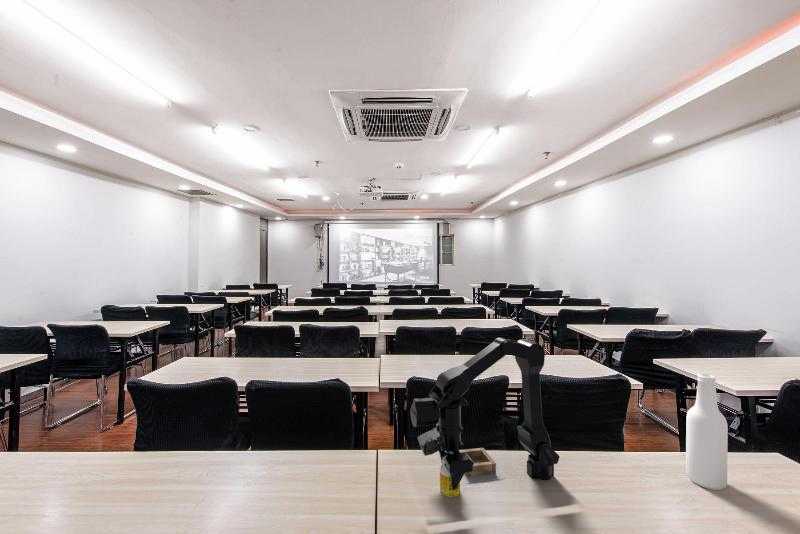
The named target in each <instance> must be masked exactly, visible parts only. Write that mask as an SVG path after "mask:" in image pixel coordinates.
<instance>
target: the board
mask: <svg viewBox="0 0 800 534" xmlns="http://www.w3.org/2000/svg"><path fill="white" fill-rule="evenodd" d="M473 463H482V460H475V461H473ZM505 479H506V478H505V476H504V475H503V474H502V473H501V471H500V470H499V469H498V468H497V466H496V474H490V475H482V476H474V477H466V475H465V474H464V475H463V477H462V479H461V481H463V483H464V485H465V484H466V485H467V484H474V483H475V484H476V483H482V482H489V481H498V480H505Z"/></svg>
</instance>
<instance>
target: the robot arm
mask: <svg viewBox="0 0 800 534" xmlns="http://www.w3.org/2000/svg"><path fill="white" fill-rule="evenodd" d="M507 355H508V356H512V357H514V358H515V363H516V364H517V366H518V368H519V370H520V373H521V387H522V388H521V390H522V401H523V404H522V405H523V416H524V417H523V419H524V421H523V422H522V423H521V425H517V427H516V428H517V440H518V441H519V443H520V444H521V446H523V447H524V450H525V452H527V453H528V456H527V458H528V460H526V474H527V475H528V477H530V479H532V480H533V479H534V480H539V481H549V480H552V478H554V477H555V465H556V464H559V461H560V455H559V454H558V453H557V452H556V451H555V450H554V449H553V448H552V444H551V440H550V435H549V433H548V431H547V429H546V427H545V425H544V423H543V422H544V420H543V408H542V407H543V405H542V393H541V392H542V391H541V377H540V373H541V371H542V369H543V368H544V366H545V357H546V351H545V348H544V346H542V345H541V344H540V343H537V342H534V341H531V340H528V339H525V338H521V339H519V340H514V339H508V338H507V339H506V338H504V337H500V336H499V337H497V338H495V339H494V340H493V341H492V342H491V343H490V344H488V345H487V346H486V347H485V348H483V349H482V350H480V351H479V352H477V354H475V355H473V356H472V357H471V358H470V359H468V360H467V361H465V362H464V363H463V364H461V365H459V366H455V367H451V368H449V369H446V370H445V371H443V372H441V373H440V374H438V375H437V377H436V382H435V384H434V385H433V387H432V388H431V390H430V391H429V393H428V396H429V397H425V398H413V399H412V404H411V406H410V410H409V413H410V420H411V421H410V422H411V424H412V426H413V427H414V428H417V427H427V426H433V425H435V427H432V428H431V429H430V430H429V431H426V432H423V433H422V434H420V435H419V436H417V441H418V444H419V447H420V449H421V451H422V453H423V455H424V456H426V457H428V456H431V455H433V454H435V453H438V454H439V457H440V461H441V463H442V458H443V457H444V456H447V457H446V458H445V464H444V465H445V467H446V469H447V470H448V471H449V473H450V477H451V484H452V488H453V489H456V488H457V487H458V485H459V483H460V484H461V481H462V477H463V475H464V474H465V473H466V472H473V470H474V463H473V461H472V460H471V458H470V457H469V455H467V454H466V453H465V452H463V453H460V451H459V450H460V449H464V442H463V441H462V438H461V437H462V436H461V435H462V434H463V433H464V428H463V426H462V425H461V424H462V423H461V422H462V421H461V420H462V418H461V417H462V415H461V413H462V410H461V409H462V406H469V402H468V401H467V400H466V399H465V398H464V394H465V393H466V392H468V390H469V388H470V387H471V385H472V382H473V381H474V380H476V378H477V377H479V376H480V375H482V374H483V373H484V372H485V371H487V370H488V369H490V368H491V367H492V366H494V365H495V364H496V363H497V362H499V361H500V360H501V359H503V358H504V357H506V356H507ZM441 394H442V395H443V396H441Z"/></svg>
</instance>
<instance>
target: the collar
mask: <svg viewBox="0 0 800 534" xmlns="http://www.w3.org/2000/svg"><path fill="white" fill-rule="evenodd" d="M459 451H460V453H463V452H465V453H466V454H467V455H469V457H470V458H471V460H472V461H475V460H482V463H474V470H473V472H466V473H465V475H466V477H474V476H482V475H490V474H496V467H497V463H496V461H494V459H493V458H492V457H491V455H490V454H489V453H488V451H487V450H486V448H484V447H479V448H469V449H468V448H467V449H459Z"/></svg>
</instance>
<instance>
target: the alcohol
mask: <svg viewBox="0 0 800 534" xmlns="http://www.w3.org/2000/svg"><path fill="white" fill-rule="evenodd" d="M696 376H697V388H696V394H695V395H696V397H695V403H694V405H693V406H692V407H690V408H689V409H688V410H687V413H686V421H685V422H686V423H685V425H686V428H685V430H686V432H685V433H686V434H685V435H686V436H685V473H686V476H687V478H688V479H689V480H690V481H691V482H692V483H694V484H696V485H698V486H700V487H702V488H706V489H708V490H713V491H723V490H724V489H725V488H726V487H727V486H728V448H729V447H728V445H729V444H728V443H729V442H728V441H729V440H728V433H729V431H728V429H729V428H728V427H729V425H728V421H727V418H726V417H725V416H724V415H723V413H722V412H721V411H720V409H719V407H718V398H717V397H718V396H717V386H716V384H717V381H716V379H717V378H716V377H715V375H711V374H708V373H698V374H697V375H696Z"/></svg>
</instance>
